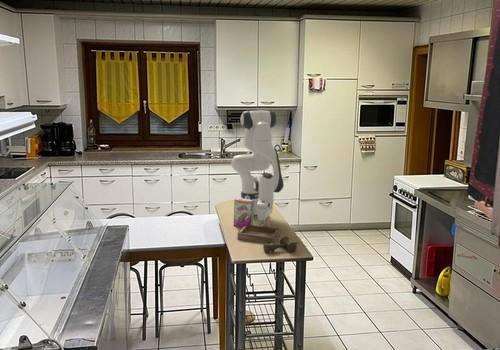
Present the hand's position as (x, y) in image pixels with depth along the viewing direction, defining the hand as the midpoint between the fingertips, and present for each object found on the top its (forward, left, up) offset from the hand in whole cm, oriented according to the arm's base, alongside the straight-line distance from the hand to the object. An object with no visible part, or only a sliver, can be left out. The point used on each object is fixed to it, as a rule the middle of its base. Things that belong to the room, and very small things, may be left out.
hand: (265, 223), depth 263 cm
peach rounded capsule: (0, 0, -4) cm, 4 cm away
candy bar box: (-2, -14, -4) cm, 15 cm away
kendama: (+28, +17, -4) cm, 33 cm away
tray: (+13, 0, -4) cm, 13 cm away
